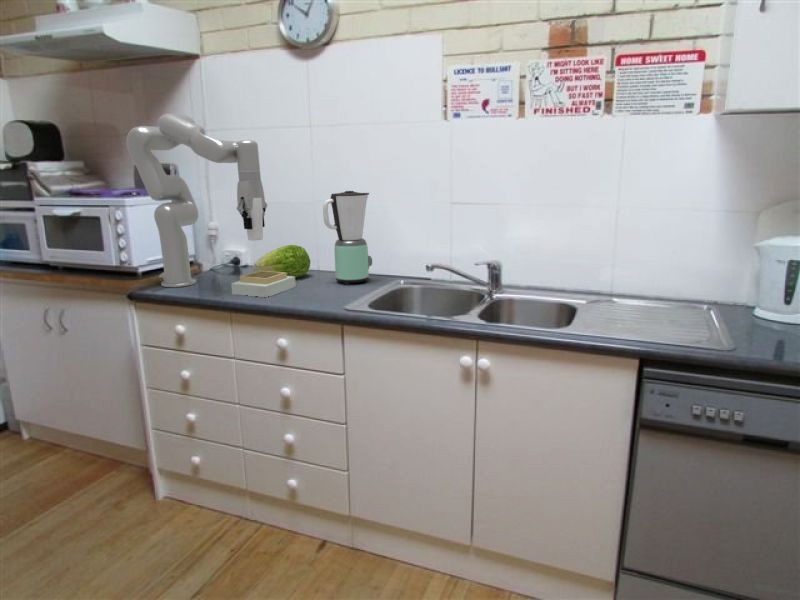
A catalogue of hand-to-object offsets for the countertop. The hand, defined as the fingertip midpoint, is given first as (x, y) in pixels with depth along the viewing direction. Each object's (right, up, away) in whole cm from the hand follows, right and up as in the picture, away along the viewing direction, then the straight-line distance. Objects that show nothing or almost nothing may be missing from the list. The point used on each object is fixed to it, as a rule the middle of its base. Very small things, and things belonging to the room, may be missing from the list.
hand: (254, 227), depth 193 cm
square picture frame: (+2, -23, +5) cm, 23 cm away
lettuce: (+3, -17, +29) cm, 34 cm away
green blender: (+33, -19, +17) cm, 42 cm away
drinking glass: (0, -4, +1) cm, 5 cm away
